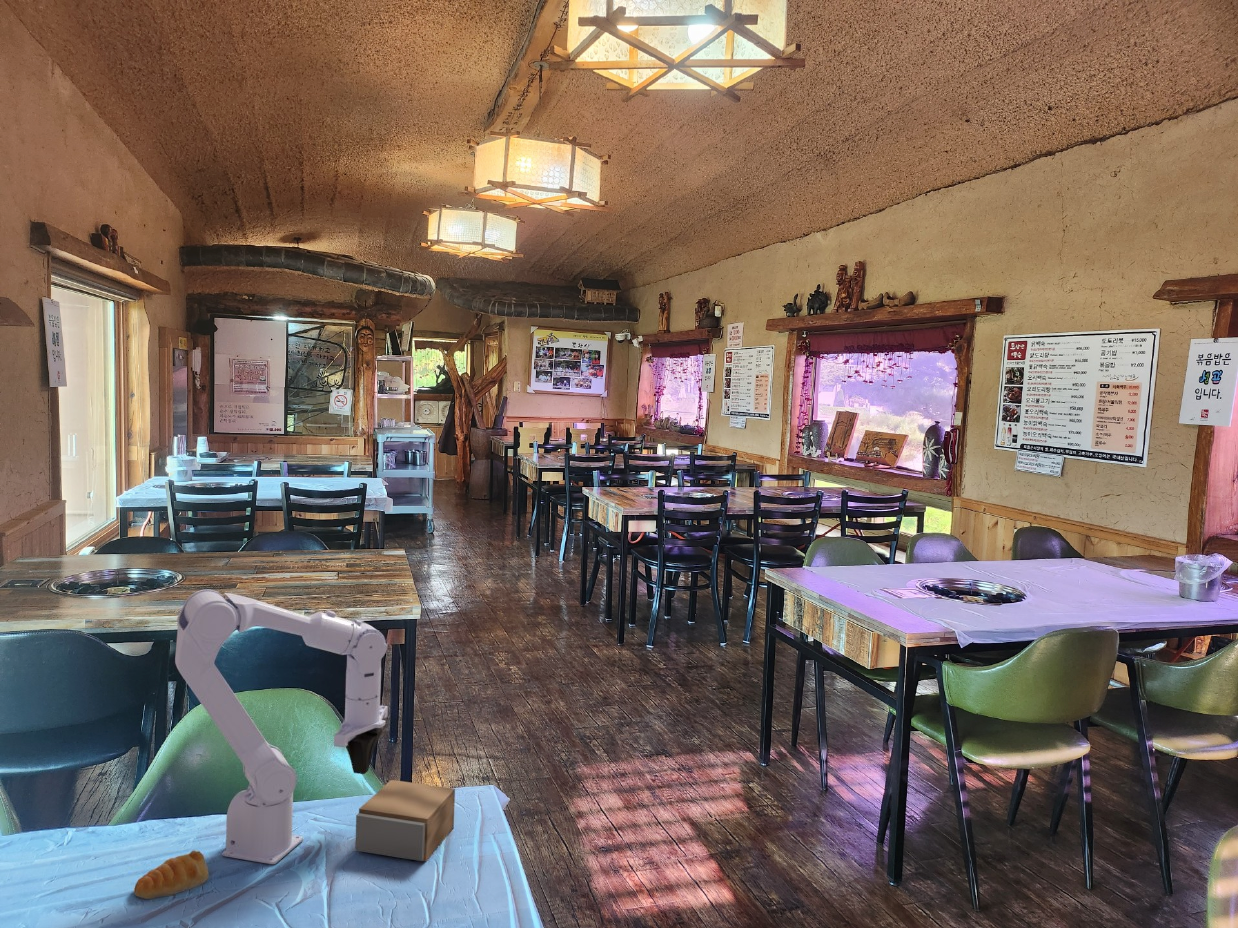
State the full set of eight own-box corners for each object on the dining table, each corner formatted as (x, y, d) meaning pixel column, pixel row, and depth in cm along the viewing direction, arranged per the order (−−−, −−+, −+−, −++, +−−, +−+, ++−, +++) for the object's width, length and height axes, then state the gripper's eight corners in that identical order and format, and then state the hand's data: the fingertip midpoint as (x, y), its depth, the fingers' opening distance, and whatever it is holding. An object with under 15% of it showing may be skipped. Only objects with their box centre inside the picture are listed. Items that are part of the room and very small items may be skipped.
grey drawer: (421, 860, 125) (423, 825, 125) (355, 850, 127) (356, 815, 127) (448, 828, 136) (450, 795, 135) (386, 818, 138) (387, 786, 138)
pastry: (143, 909, 112) (144, 883, 111) (126, 890, 116) (127, 865, 116) (212, 882, 119) (213, 857, 119) (194, 865, 123) (194, 841, 123)
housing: (426, 861, 126) (427, 818, 126) (357, 850, 129) (359, 808, 128) (453, 827, 137) (454, 788, 137) (390, 818, 140) (391, 779, 139)
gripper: (362, 711, 128) (360, 793, 129) (403, 684, 142) (401, 757, 143) (323, 706, 129) (321, 787, 130) (368, 679, 143) (365, 752, 144)
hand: (360, 771), depth 136 cm, fingers closed
